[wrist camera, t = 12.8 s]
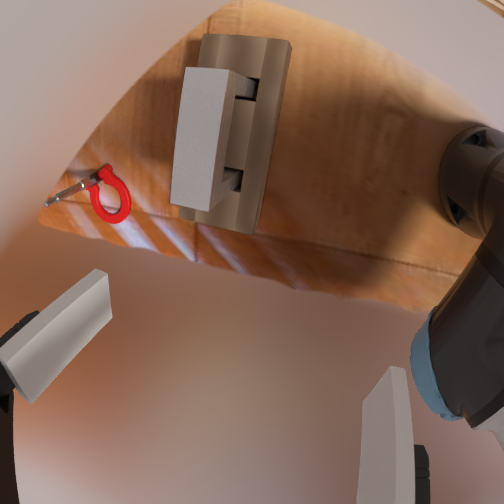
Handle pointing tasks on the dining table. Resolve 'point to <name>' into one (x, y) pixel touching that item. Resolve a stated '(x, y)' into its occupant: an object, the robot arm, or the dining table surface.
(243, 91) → the clip
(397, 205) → the dining table surface
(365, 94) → the dining table surface
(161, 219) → the dining table surface
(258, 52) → the slotted wooden block
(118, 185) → the tow hook
